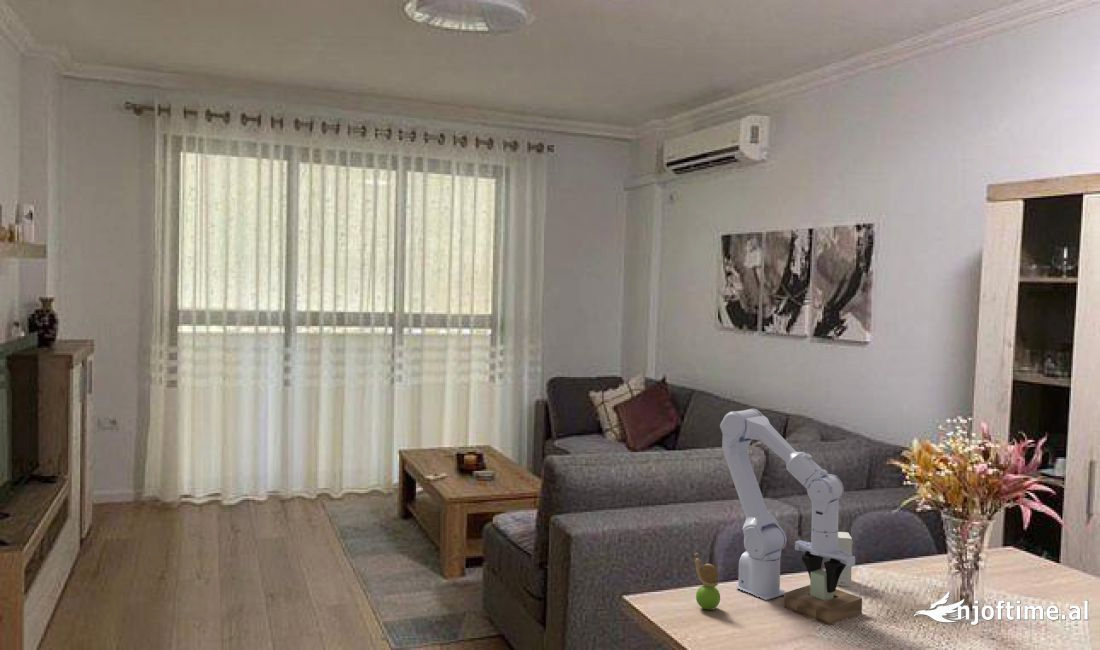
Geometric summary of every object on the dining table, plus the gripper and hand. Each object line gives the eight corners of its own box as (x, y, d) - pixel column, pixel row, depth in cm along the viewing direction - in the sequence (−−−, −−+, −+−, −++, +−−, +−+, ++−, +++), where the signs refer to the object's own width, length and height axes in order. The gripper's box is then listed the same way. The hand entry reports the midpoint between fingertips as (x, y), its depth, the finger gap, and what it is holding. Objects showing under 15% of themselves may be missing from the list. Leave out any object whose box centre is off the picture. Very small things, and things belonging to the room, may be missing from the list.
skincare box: (851, 587, 201) (852, 538, 201) (833, 585, 202) (834, 537, 201) (847, 578, 207) (848, 532, 206) (830, 577, 208) (831, 530, 207)
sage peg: (810, 598, 185) (810, 571, 185) (819, 594, 187) (820, 568, 187) (823, 602, 182) (824, 576, 182) (833, 599, 184) (833, 573, 184)
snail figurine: (701, 601, 190) (702, 550, 190) (724, 609, 185) (725, 556, 185) (687, 607, 186) (688, 555, 186) (711, 615, 182) (712, 562, 181)
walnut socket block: (784, 607, 187) (784, 592, 186) (816, 597, 194) (816, 582, 194) (829, 625, 177) (829, 609, 177) (861, 613, 184) (862, 598, 184)
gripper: (787, 524, 188) (785, 583, 189) (842, 540, 176) (840, 602, 177) (806, 520, 192) (804, 577, 193) (861, 535, 181) (859, 595, 181)
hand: (823, 588), depth 185 cm, fingers closed on sage peg, 4 cm apart
